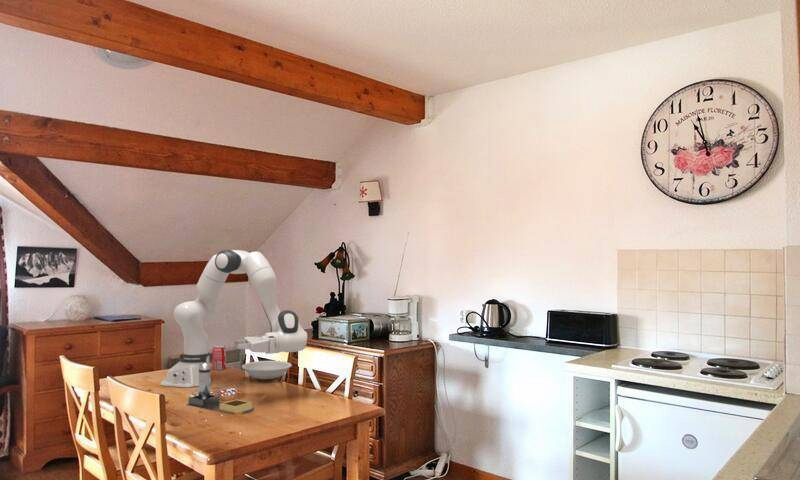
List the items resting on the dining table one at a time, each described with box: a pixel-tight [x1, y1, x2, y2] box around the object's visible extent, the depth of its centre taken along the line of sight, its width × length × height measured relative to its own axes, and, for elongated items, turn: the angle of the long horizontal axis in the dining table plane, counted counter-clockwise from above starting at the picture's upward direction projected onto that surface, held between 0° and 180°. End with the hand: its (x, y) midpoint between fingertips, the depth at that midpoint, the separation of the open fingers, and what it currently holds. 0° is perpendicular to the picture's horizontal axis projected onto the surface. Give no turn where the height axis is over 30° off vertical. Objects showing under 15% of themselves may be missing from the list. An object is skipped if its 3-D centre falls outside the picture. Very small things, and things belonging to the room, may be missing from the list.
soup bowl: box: [241, 360, 293, 380], centre depth 280 cm, size 24×24×7 cm
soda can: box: [211, 345, 227, 371], centre depth 302 cm, size 7×7×12 cm
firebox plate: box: [186, 393, 255, 416], centre depth 224 cm, size 26×11×4 cm, turn 60°
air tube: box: [197, 361, 212, 400], centre depth 229 cm, size 5×5×16 cm
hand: (236, 344), depth 234 cm, fingers open, 8 cm apart
